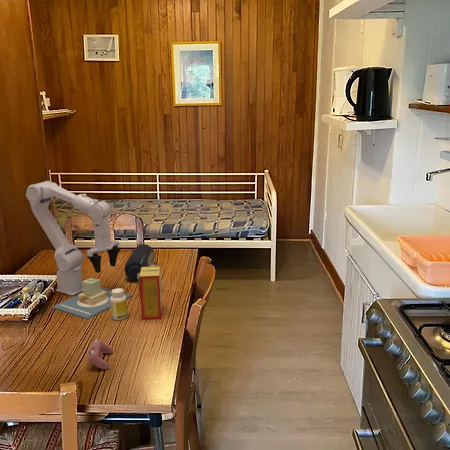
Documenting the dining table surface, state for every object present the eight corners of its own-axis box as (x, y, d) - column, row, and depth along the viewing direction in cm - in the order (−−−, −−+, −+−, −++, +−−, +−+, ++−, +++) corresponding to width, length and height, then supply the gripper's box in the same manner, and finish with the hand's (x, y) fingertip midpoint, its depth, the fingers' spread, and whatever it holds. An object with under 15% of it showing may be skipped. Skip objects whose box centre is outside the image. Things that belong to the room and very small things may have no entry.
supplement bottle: (130, 314, 164) (128, 288, 161) (122, 321, 159) (120, 294, 156) (116, 312, 165) (114, 286, 163) (108, 319, 160) (106, 292, 158)
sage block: (83, 294, 172) (81, 279, 171) (92, 289, 176) (91, 275, 174) (92, 296, 170) (90, 282, 168) (101, 292, 174) (100, 278, 172)
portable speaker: (147, 283, 191) (146, 260, 189) (123, 283, 191) (121, 260, 189) (156, 262, 216) (155, 241, 213) (135, 262, 216) (133, 241, 213)
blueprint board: (52, 308, 169) (51, 298, 168) (97, 287, 187) (96, 278, 187) (87, 319, 160) (86, 309, 159) (131, 296, 178) (131, 287, 177)
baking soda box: (161, 318, 160) (159, 274, 156) (141, 319, 160) (139, 275, 156) (162, 306, 169) (160, 265, 165) (144, 307, 169) (141, 265, 165)
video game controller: (101, 357, 140) (88, 339, 138) (114, 350, 140) (102, 331, 138) (95, 376, 130) (82, 356, 128) (110, 368, 130) (96, 349, 128)
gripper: (95, 241, 166) (98, 277, 170) (124, 231, 178) (126, 265, 182) (81, 238, 170) (85, 273, 173) (110, 228, 182) (113, 262, 185)
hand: (105, 269), depth 178 cm, fingers open, 7 cm apart
